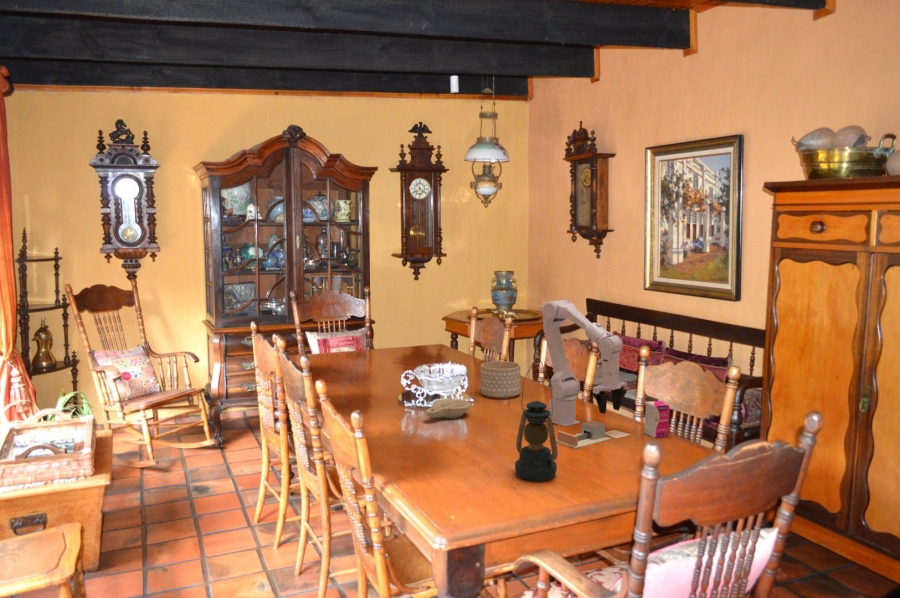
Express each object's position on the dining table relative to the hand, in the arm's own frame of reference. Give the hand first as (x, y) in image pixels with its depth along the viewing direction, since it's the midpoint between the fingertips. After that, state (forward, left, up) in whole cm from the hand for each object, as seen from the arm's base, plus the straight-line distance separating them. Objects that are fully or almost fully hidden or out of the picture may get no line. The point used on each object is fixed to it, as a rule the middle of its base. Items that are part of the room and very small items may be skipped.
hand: (609, 411), depth 248 cm
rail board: (0, -12, -8) cm, 14 cm away
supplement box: (+11, +11, -8) cm, 18 cm away
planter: (-65, +6, -8) cm, 66 cm away
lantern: (+15, -47, -8) cm, 50 cm away
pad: (+2, +1, -8) cm, 8 cm away
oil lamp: (-50, -32, -8) cm, 60 cm away
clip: (0, -8, -7) cm, 11 cm away
